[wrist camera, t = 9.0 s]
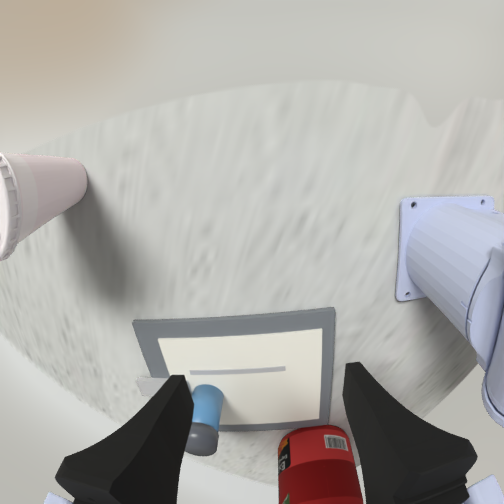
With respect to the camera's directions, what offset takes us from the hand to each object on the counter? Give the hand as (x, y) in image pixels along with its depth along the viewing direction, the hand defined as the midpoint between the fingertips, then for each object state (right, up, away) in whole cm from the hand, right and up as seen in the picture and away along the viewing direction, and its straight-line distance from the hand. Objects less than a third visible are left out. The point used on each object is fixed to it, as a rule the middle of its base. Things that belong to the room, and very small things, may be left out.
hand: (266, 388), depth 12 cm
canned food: (+6, -15, +16) cm, 23 cm away
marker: (-5, -7, +12) cm, 15 cm away
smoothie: (-15, +11, +7) cm, 20 cm away
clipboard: (-2, -5, +12) cm, 14 cm away
